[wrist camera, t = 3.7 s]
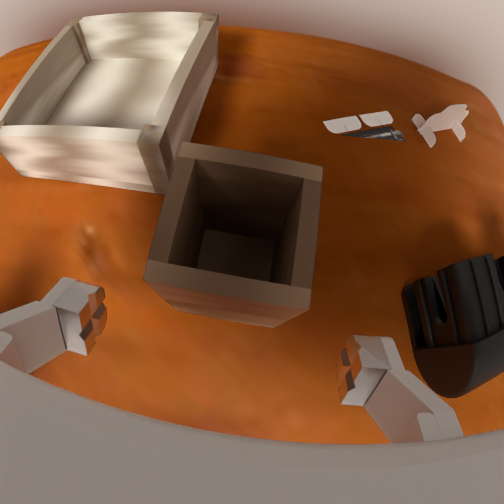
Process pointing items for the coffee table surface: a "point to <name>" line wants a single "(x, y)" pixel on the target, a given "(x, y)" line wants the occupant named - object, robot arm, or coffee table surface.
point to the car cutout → (436, 122)
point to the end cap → (458, 325)
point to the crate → (112, 99)
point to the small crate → (237, 236)
